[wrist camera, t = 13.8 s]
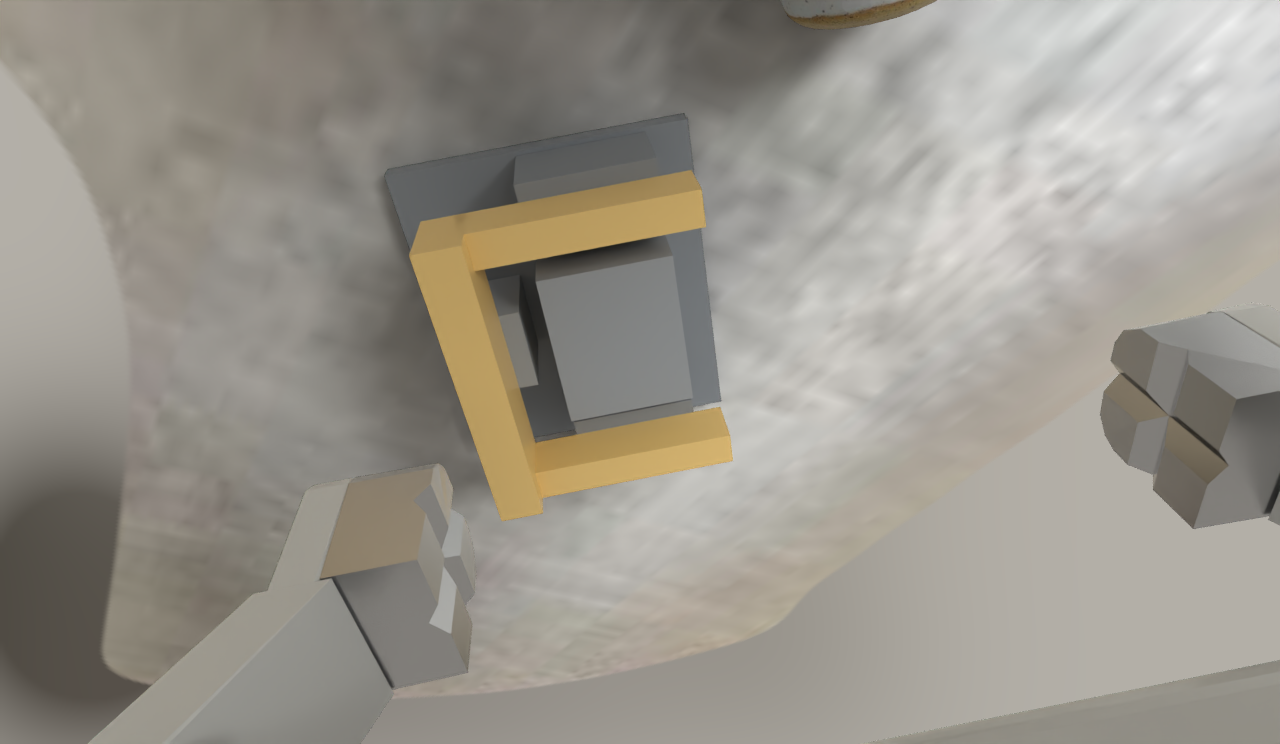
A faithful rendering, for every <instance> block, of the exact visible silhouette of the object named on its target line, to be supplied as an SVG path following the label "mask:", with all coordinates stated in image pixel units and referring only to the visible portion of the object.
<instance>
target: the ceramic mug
mask: <svg viewBox="0 0 1280 744" xmlns="http://www.w3.org/2000/svg"><path fill="white" fill-rule="evenodd" d="M935 1H936V0H781V3H782V6H783V8H784V10H785V12H786V14H787V16H788V17H790V18H791V19H792V20H793V21H794V22H796V23H798V24H800V25H802V26H804V27H808V28H812V29H829V30H830V29H842V28H851V27H858V26H864V25H869V24H874V23H878V22H882V21H886V20H889V19H893V18H897V17H900V16H903V15H905V14H908V13H910V12H913V11H916V10H918V9H920V8H922V7H924V6H927V5H929V4H931V3H933V2H935Z"/></svg>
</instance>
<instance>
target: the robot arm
mask: <svg viewBox="0 0 1280 744" xmlns="http://www.w3.org/2000/svg"><path fill="white" fill-rule="evenodd" d="M1111 362H1112V363H1113V365H1114V366H1115V368H1116V369H1117V370H1118V372H1119V373H1120V374H1119V375H1118V376H1117V377H1116V378H1115V379H1114V380H1113V382H1112V383H1111V384H1110V385H1109V386H1108V387H1107V388H1106V390H1105V391H1104V394H1103V399H1102V406H1101V412H1100V416H1101V420H1102V424H1103V429H1104V433H1105V436H1106V438H1107V439H1108V441H1109V443H1110V445H1111V447H1112V448H1113V450H1114V451H1115V452H1116V453H1117V454H1118V455H1119V456H1120V457H1121V458H1122V459H1123V460H1124V462H1125V463H1127V464H1128V465H1130V466H1132V467H1135V468H1137V469H1140V470H1143V471H1145V472H1148V473H1150V474H1153V490H1154V491H1155V492H1156V493H1157V494H1158V495H1159V496H1160V497H1161V498H1162V499H1163V500H1164V501H1165V502H1166V503H1167V504H1168V505H1169V506H1170V507H1171V508H1172V509H1173V510H1174V511H1175V512H1176V513H1177V514H1178V515H1179V516H1181V517H1182V518H1183V519H1184V520H1185V521H1186V522H1187V523H1188V524H1189V525H1190V526H1191V527H1192V528H1193V529H1196V528H1202V527H1208V526H1214V525H1220V524H1225V523H1232V522H1237V521H1243V520H1249V519H1255V518H1261V517H1266V516H1269V519H1268V520H1270V521H1272V522H1274V523H1276V524H1278V525H1280V311H1278V310H1276V309H1274V308H1273V307H1271V306H1269V305H1264V304H1258V303H1252V302H1251V303H1246V304H1242V305H1237V306H1233V307H1228V308H1224V309H1220V310H1215V311H1210V312H1208V313H1206V314H1203V315H1198V316H1193V317H1188V318H1183V319H1178V320H1173V321H1168V322H1163V323H1158V324H1153V325H1148V326H1143V327H1138V328H1133V329H1128V330H1123V332H1122V333H1121V334H1120V336H1119V337H1118V339H1117V340H1116V341H1115V344H1114V348H1113V352H1112V356H1111ZM452 497H453V486H452V484H451V482H450V479H449V477H448V475H447V472H446V470H445V468H444V467H443V466H442V465H440V464H439V463H434V464H429V465H423V466H417V467H411V468H405V469H400V470H394V471H388V472H382V473H376V474H371V475H365V476H359V477H356V478H349V479H343V480H338V481H333V482H328V483H322V484H317V485H313V486H312V487H311V488H309V489H308V490H307V491H306V492H305V493H304V495H303V498H302V500H301V503H300V505H299V508H298V511H297V513H296V516H295V519H294V521H293V524H292V526H291V529H290V532H289V534H288V537H287V539H286V542H285V545H284V547H283V550H282V552H281V555H280V558H279V560H278V563H277V566H276V568H275V571H274V573H273V576H272V579H271V581H270V584H269V586H268V589H267V591H264V592H259V593H254V594H252V595H251V596H250V597H249V598H248V599H247V600H246V601H245V602H244V603H242V604H241V605H240V606H239V607H238V608H237V609H236V610H235V611H234V612H232V613H231V614H230V615H229V616H228V617H227V618H226V619H225V620H224V621H223V622H221V623H220V624H219V625H218V626H217V627H216V628H215V629H214V630H213V631H211V632H210V633H209V634H208V635H207V636H206V637H205V638H204V639H203V640H202V641H200V642H199V643H198V644H197V645H196V646H195V647H194V648H193V649H192V650H190V651H189V652H188V653H187V654H186V655H185V656H184V657H183V658H182V659H181V660H179V661H178V662H177V663H176V664H175V665H174V666H173V667H172V668H171V669H169V670H168V671H167V672H166V673H165V674H164V675H163V676H162V677H161V678H160V679H158V680H157V681H156V682H155V683H154V684H153V685H152V686H151V687H150V688H149V689H147V690H146V691H145V692H144V693H143V694H142V695H141V696H140V697H139V698H138V699H136V700H135V701H134V702H133V703H132V704H131V705H130V706H129V707H127V708H126V709H125V710H124V711H123V712H122V713H121V714H120V715H119V716H118V717H117V718H115V719H114V720H113V721H112V722H111V723H110V724H109V725H108V726H107V727H105V728H104V729H103V730H102V731H101V732H100V733H99V734H98V735H96V736H95V737H94V738H93V739H92V740H91V741H90V742H89V743H88V744H361V742H362V741H363V740H364V738H365V736H366V735H367V733H368V732H369V730H370V729H371V728H372V726H373V724H374V723H375V721H376V720H377V719H378V717H379V716H380V714H381V713H382V711H383V709H384V708H385V707H386V705H387V703H388V702H389V700H390V699H391V698H392V696H393V695H394V692H393V689H398V688H402V687H406V686H411V685H415V684H420V683H424V682H429V681H433V680H437V679H442V678H446V677H451V676H455V675H459V674H464V673H468V666H469V655H470V644H471V633H472V622H471V619H470V617H469V614H468V612H467V610H466V607H465V605H466V603H467V602H468V601H469V600H470V599H471V597H472V596H473V595H474V594H475V584H476V566H475V555H474V547H473V543H472V539H471V535H470V531H469V528H468V526H467V523H466V520H465V518H464V516H463V515H461V514H460V513H458V512H456V511H455V510H453V509H452V508H451V505H452ZM864 744H1280V660H1277V661H1272V662H1268V663H1263V664H1258V665H1253V666H1248V667H1243V668H1238V669H1233V670H1228V671H1223V672H1218V673H1213V674H1208V675H1203V676H1198V677H1193V678H1188V679H1183V680H1178V681H1173V682H1169V683H1164V684H1159V685H1154V686H1149V687H1144V688H1139V689H1135V690H1129V691H1124V692H1119V693H1114V694H1109V695H1104V696H1099V697H1094V698H1089V699H1084V700H1079V701H1074V702H1069V703H1064V704H1059V705H1054V706H1049V707H1044V708H1039V709H1034V710H1029V711H1024V712H1019V713H1014V714H1009V715H1004V716H999V717H994V718H989V719H984V720H979V721H974V722H969V723H964V724H959V725H954V726H949V727H944V728H939V729H934V730H929V731H924V732H919V733H914V734H909V735H904V736H899V737H894V738H889V739H883V740H878V741H873V742H868V743H864Z"/></svg>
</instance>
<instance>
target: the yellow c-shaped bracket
mask: <svg viewBox="0 0 1280 744" xmlns="http://www.w3.org/2000/svg"><path fill="white" fill-rule="evenodd" d="M704 227H706V222H705V213H704V205H703V196H702V189H701V187H700V185H699V183H698V181H697V179H696V178H695V176H694V174H693V172H692V170H689V171H683V172H678V173H673V174H668V175H662V176H657V177H652V178H647V179H641V180H636V181H631V182H626V183H620V184H615V185H610V186H605V187H599V188H594V189H589V190H584V191H578V192H573V193H568V194H563V195H557V196H552V197H547V198H542V199H536V200H531V201H526V202H521V203H515V204H510V205H505V206H500V207H494V208H489V209H484V210H479V211H473V212H468V213H463V214H458V215H452V216H447V217H442V218H437V219H431V220H426V221H421V222H420V225H419V228H418V231H417V234H416V237H415V240H414V243H413V246H412V249H411V251H410V254H409V257H410V260H411V263H412V266H413V269H414V272H415V274H416V277H417V280H418V283H419V286H420V289H421V292H422V294H423V297H424V300H425V303H426V306H427V309H428V312H429V314H430V317H431V320H432V323H433V326H434V329H435V332H436V334H437V337H438V340H439V343H440V346H441V349H442V352H443V355H444V357H445V360H446V363H447V366H448V369H449V372H450V375H451V377H452V380H453V383H454V386H455V389H456V392H457V395H458V397H459V400H460V403H461V406H462V409H463V412H464V415H465V417H466V420H467V423H468V426H469V429H470V432H471V435H472V437H473V440H474V443H475V446H476V449H477V452H478V455H479V458H480V460H481V463H482V466H483V469H484V472H485V475H486V478H487V480H488V483H489V486H490V489H491V492H492V495H493V498H494V500H495V503H496V506H497V509H498V512H499V515H500V518H501V520H502V521H506V520H511V519H516V518H522V517H527V516H532V515H537V514H542V513H543V498H545V497H550V496H555V495H560V494H565V493H570V492H576V491H581V490H586V489H591V488H596V487H601V486H606V485H611V484H617V483H622V482H627V481H632V480H637V479H642V478H647V477H653V476H658V475H663V474H668V473H673V472H678V471H683V470H688V469H694V468H699V467H704V466H709V465H714V464H719V463H724V462H729V461H733V457H732V448H731V440H730V434H729V431H728V428H727V425H726V423H725V420H724V417H723V414H722V411H721V408H720V407H717V408H712V409H706V410H701V411H696V412H691V413H686V414H681V415H675V416H670V417H665V418H660V419H655V420H650V421H645V422H639V423H634V424H629V425H624V426H619V427H614V428H608V429H603V430H598V431H593V432H588V433H583V434H578V435H572V436H567V437H562V438H557V439H552V440H547V441H541V442H536V443H535V440H534V436H533V433H532V429H531V426H530V422H529V419H528V416H527V412H526V409H525V405H524V402H523V399H522V395H521V392H520V388H519V385H518V382H517V378H516V375H515V371H514V368H513V365H512V361H511V358H510V354H509V351H508V348H507V344H506V341H505V337H504V334H503V331H502V327H501V324H500V320H499V317H498V313H497V310H496V307H495V303H494V300H493V296H492V293H491V290H490V286H489V283H488V279H487V276H486V273H485V269H489V268H495V267H500V266H505V265H510V264H516V263H521V262H526V261H531V260H536V259H542V258H547V257H552V256H557V255H563V254H568V253H573V252H578V251H583V250H589V249H594V248H599V247H604V246H610V245H615V244H620V243H625V242H630V241H636V240H641V239H646V238H651V237H657V236H662V235H667V234H672V233H677V232H683V231H688V230H693V229H698V228H704Z"/></svg>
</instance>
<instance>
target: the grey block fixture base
mask: <svg viewBox="0 0 1280 744" xmlns="http://www.w3.org/2000/svg"><path fill="white" fill-rule="evenodd" d="M689 170H692V172H693V174H694V168H693V160H692V152H691V143H690V135H689V126H688V119H687V117H686V116H685V114H684V113H683V114H677V115H672V116H667V117H662V118H656V119H651V120H646V121H641V122H635V123H630V124H625V125H619V126H614V127H609V128H604V129H598V130H593V131H588V132H582V133H577V134H572V135H567V136H561V137H556V138H551V139H546V140H540V141H535V142H530V143H524V144H519V145H514V146H509V147H503V148H498V149H493V150H487V151H482V152H477V153H472V154H466V155H461V156H456V157H451V158H445V159H440V160H435V161H429V162H424V163H419V164H414V165H408V166H403V167H398V168H392V169H388V170H387V172H386V174H385V176H384V177H385V180H386V183H387V186H388V189H389V191H390V194H391V197H392V200H393V203H394V206H395V209H396V212H397V214H398V217H399V220H400V223H401V226H402V229H403V232H404V235H405V238H406V240H407V243H408V246H409V249H410V251H411V249H412V246H413V243H414V240H415V237H416V234H417V231H418V228H419V225H420V222H421V221H426V220H431V219H437V218H442V217H447V216H452V215H458V214H463V213H468V212H473V211H479V210H484V209H489V208H494V207H500V206H505V205H510V204H515V203H521V202H526V201H531V200H536V199H542V198H547V197H552V196H557V195H563V194H568V193H573V192H578V191H584V190H589V189H594V188H599V187H605V186H610V185H615V184H620V183H626V182H631V181H636V180H641V179H647V178H652V177H657V176H662V175H668V174H673V173H678V172H683V171H689ZM485 273H486V276H487V279H488V283H489V286H490V290H491V293H492V296H493V300H494V303H495V307H496V310H497V313H498V317H499V320H500V324H501V327H502V331H503V334H504V337H505V341H506V344H507V348H508V351H509V354H510V358H511V361H512V365H513V368H514V371H515V375H516V378H517V382H518V385H519V388H520V392H521V395H522V399H523V402H524V405H525V409H526V412H527V416H528V419H529V422H530V426H531V429H532V433H533V436H534V437H540V436H545V435H550V434H555V433H560V432H565V431H571V430H576V434H577V435H578V434H583V433H588V432H593V431H598V430H603V429H608V428H614V427H619V426H624V425H629V424H634V423H639V422H645V421H650V420H655V419H660V418H665V417H670V416H675V415H681V414H686V413H691V412H693V407H694V406H700V405H705V404H710V403H715V402H720V401H721V396H720V387H719V379H718V370H717V362H716V353H715V345H714V337H713V328H712V320H711V311H710V303H709V295H708V286H707V278H706V269H705V261H704V253H703V244H702V236H701V228H698V229H693V230H688V231H683V232H677V233H672V234H667V235H662V236H657V237H651V238H646V239H641V240H636V241H630V242H625V243H620V244H615V245H610V246H604V247H599V248H594V249H589V250H583V251H578V252H573V253H568V254H563V255H557V256H552V257H547V258H542V259H536V260H531V261H526V262H521V263H516V264H510V265H505V266H500V267H495V268H489V269H485Z"/></svg>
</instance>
